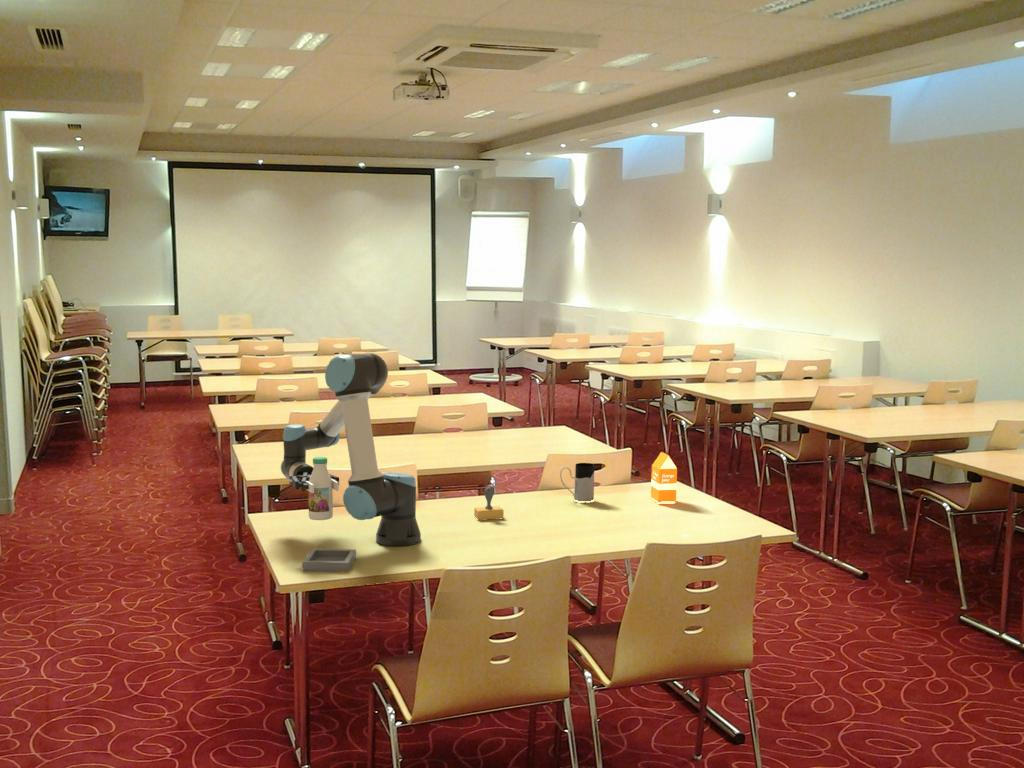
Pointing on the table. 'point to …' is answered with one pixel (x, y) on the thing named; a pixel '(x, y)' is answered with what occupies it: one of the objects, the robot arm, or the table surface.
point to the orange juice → (664, 479)
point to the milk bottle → (320, 491)
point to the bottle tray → (329, 560)
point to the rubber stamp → (488, 508)
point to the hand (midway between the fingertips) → (325, 487)
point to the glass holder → (583, 482)
